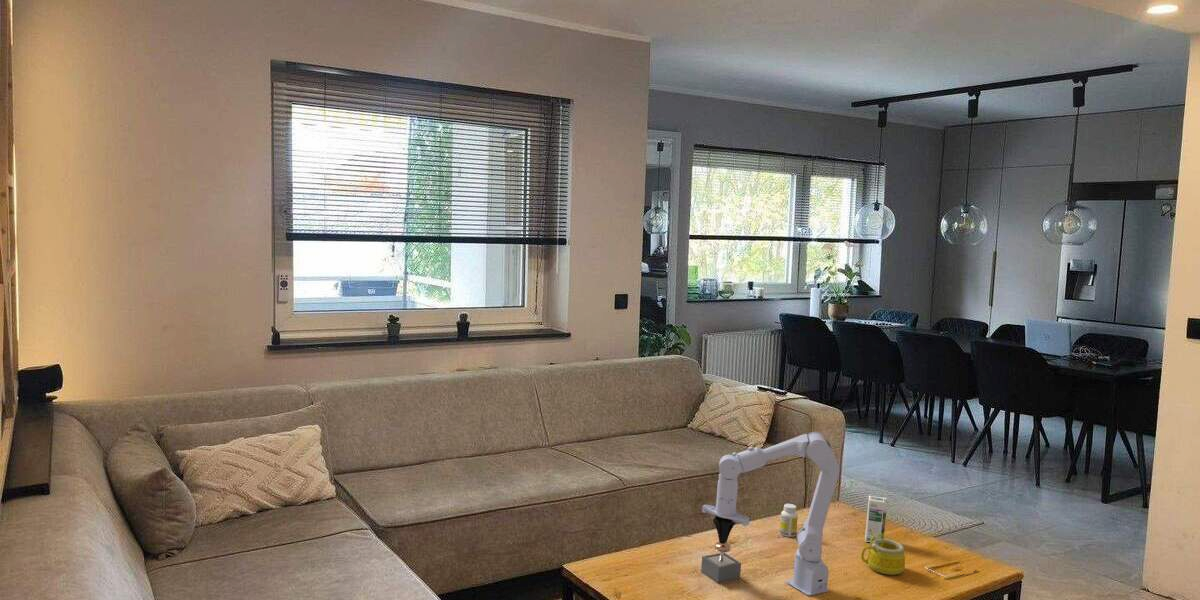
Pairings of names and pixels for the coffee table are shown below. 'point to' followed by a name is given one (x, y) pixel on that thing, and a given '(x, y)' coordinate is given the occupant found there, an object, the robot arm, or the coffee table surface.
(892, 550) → the mug
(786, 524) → the supplement bottle
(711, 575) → the open grey square tray
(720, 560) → the plunger
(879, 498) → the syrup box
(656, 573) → the coffee table surface
